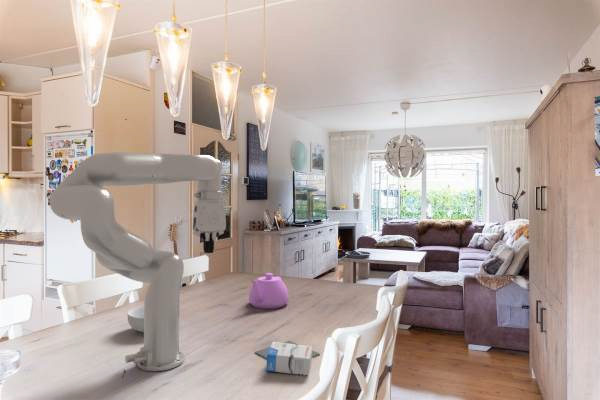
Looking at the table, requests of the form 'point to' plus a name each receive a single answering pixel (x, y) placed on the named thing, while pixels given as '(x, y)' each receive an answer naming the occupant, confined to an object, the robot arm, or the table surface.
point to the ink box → (289, 358)
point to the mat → (265, 351)
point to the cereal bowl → (136, 318)
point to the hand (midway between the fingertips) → (208, 252)
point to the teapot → (268, 292)
